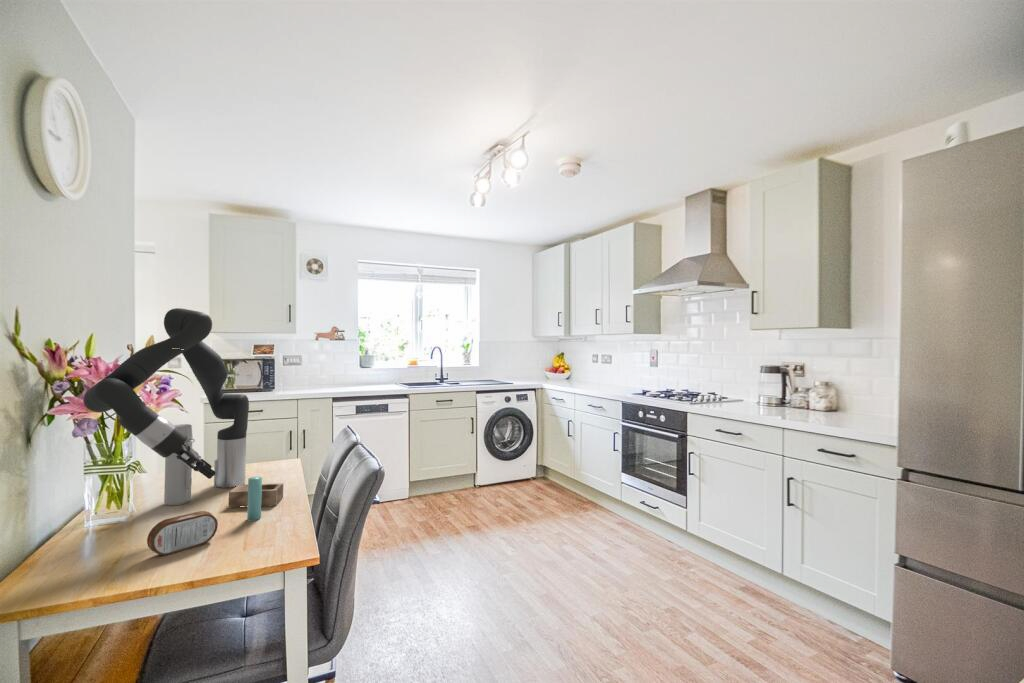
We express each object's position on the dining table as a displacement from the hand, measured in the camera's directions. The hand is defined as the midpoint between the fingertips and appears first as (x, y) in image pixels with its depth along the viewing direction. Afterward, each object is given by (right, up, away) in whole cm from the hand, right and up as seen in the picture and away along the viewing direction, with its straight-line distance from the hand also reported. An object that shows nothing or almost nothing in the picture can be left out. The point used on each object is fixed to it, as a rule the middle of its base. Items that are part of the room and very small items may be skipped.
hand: (210, 472), depth 135 cm
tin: (+2, -16, -15) cm, 21 cm away
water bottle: (-22, -15, +19) cm, 33 cm away
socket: (+2, -16, +21) cm, 26 cm away
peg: (+9, -16, +7) cm, 19 cm away
